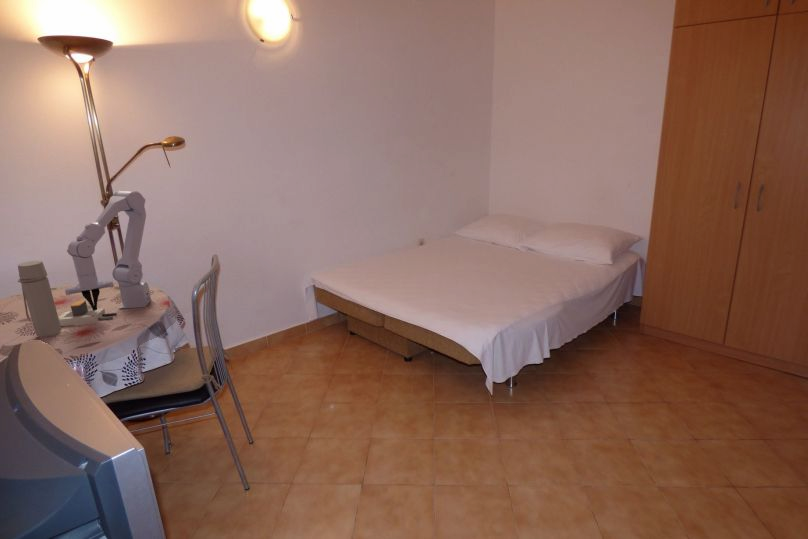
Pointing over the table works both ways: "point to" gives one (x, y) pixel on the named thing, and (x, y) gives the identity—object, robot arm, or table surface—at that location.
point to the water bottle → (38, 298)
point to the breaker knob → (79, 308)
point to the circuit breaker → (81, 317)
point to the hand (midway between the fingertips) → (94, 309)
